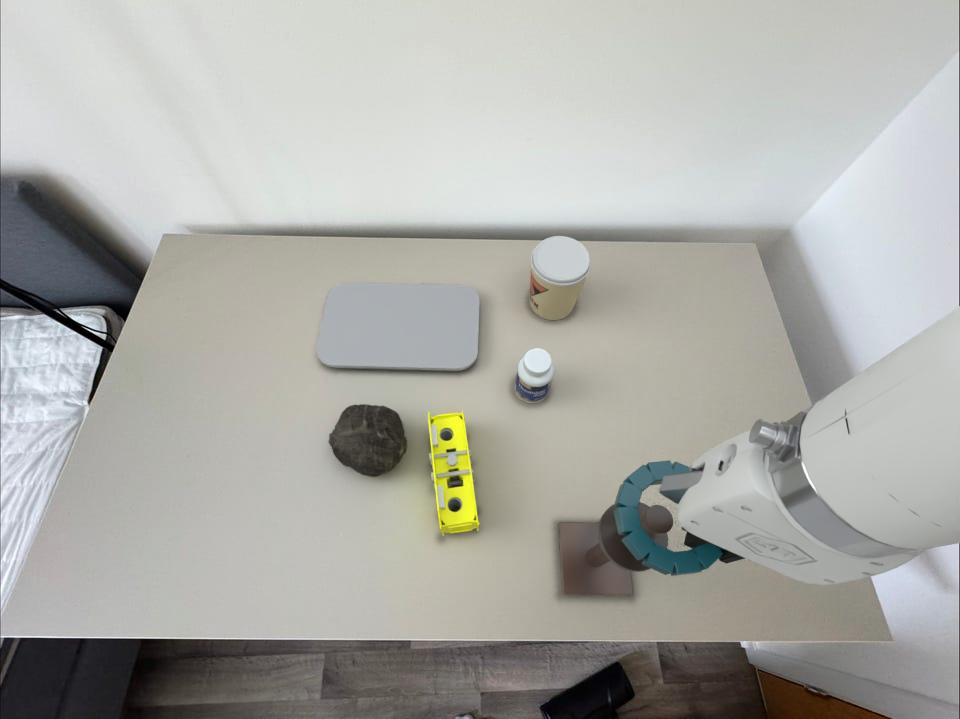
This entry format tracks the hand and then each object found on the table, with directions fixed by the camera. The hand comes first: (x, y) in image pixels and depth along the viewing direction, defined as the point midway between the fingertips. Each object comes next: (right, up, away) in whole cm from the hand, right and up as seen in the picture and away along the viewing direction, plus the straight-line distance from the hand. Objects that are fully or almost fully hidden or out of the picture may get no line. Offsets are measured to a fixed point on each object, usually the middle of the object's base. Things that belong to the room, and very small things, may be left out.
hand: (708, 535), depth 41 cm
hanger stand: (-3, -12, +27) cm, 30 cm away
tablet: (-32, +19, +44) cm, 58 cm away
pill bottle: (-11, +10, +39) cm, 41 cm away
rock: (-35, +1, +34) cm, 49 cm away
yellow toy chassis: (-23, -3, +32) cm, 39 cm away
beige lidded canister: (-6, +24, +47) cm, 53 cm away
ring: (-3, +1, +1) cm, 3 cm away
